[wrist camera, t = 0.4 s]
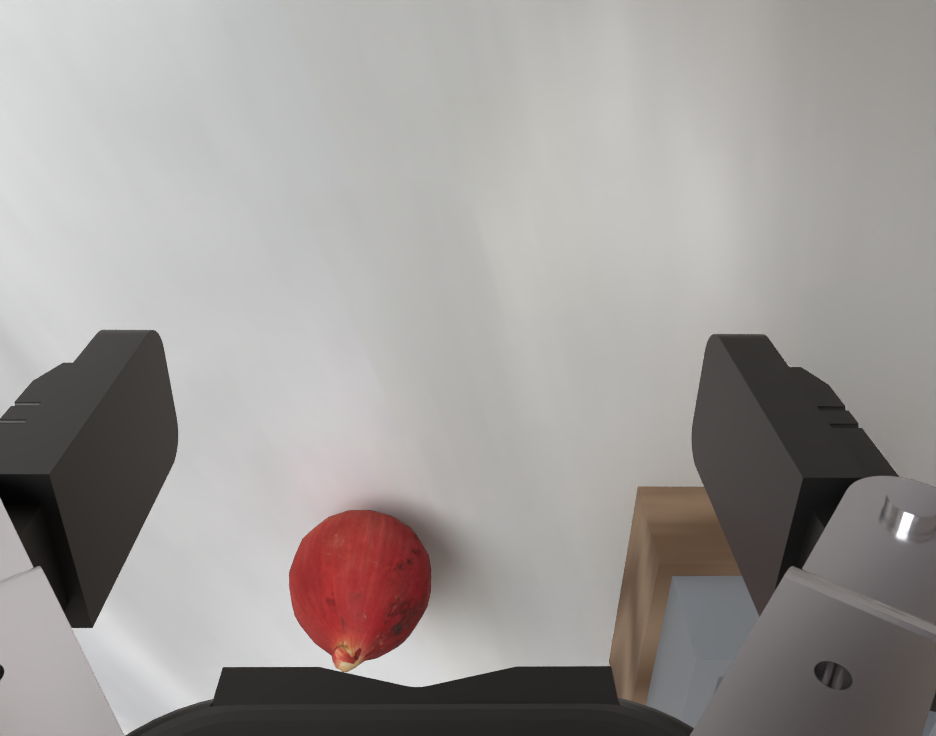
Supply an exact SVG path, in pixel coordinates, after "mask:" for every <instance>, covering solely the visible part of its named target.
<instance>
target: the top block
mask: <svg viewBox="0 0 936 736" xmlns="http://www.w3.org/2000/svg"><path fill="white" fill-rule="evenodd" d="M758 619H759V615H758V613H757V610H756V608H755V605H754V603H753V601H752V598H751V596H750V594H749V591H748V589H747V587H746V584H745V582H744V579H743V577H742V576H672V580H671V585H670V590H669V595H668V599H667V604H666V609H665V614H664V619H663V624H662V629H661V633H660V638H659V643H658V648H657V653H656V658H655V663H654V667H653V672H652V677H651V682H650V687H649V692H648V697H647V701H646V706H649V707H652V708H655V709H657V710H659V711H661V712H664V713H666V714H668V715H670V716H673V717H675V718H677V719H679V720H681V721H682V722H684V723H686V724H688V725H689V726H691V727H693V728H695V726H696V724H697V722H698V721H699V719H700V717H701V716H702V714H703V712H704V711H705V709H706V707H707V705H708V704H709V702H710V700H711V699H712V697H713V695H714V694H715V692H716V690H717V688H718V687H719V685H720V683H721V682H722V680H723V678H724V677H725V675H726V673H727V672H728V670H729V668H730V666H731V665H732V663H733V661H734V660H735V658H736V656H737V655H738V653H739V651H740V649H741V648H742V646H743V644H744V643H745V641H746V639H747V638H748V636H749V634H750V633H751V631H752V629H753V627H754V626H755V624H756V622H757V621H758ZM922 736H936V712H933V711H929V714H928V718H927V721H926V724H925V727H924V731H923V734H922Z"/></svg>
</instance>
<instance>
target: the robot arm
mask: <svg viewBox="0 0 936 736" xmlns="http://www.w3.org/2000/svg"><path fill="white" fill-rule="evenodd" d="M177 445H178V424H177V417H176V412H175V407H174V401H173V396H172V390H171V385H170V379H169V374H168V368H167V363H166V358H165V352H164V347H163V343H162V340H161V338H160V336H159V334H158V333H157V332H156V331H154V330H101V331H99V332H98V333H97V334H96V335H95V337H94V338H93V339H92V340H91V341H90V343H89V344H88V345H87V346H86V348H85V349H84V350H83V351H82V353H81V354H80V355H79V356H78V357H77V359H76V360H75V361H74V362H73V363H62V364H60V365H59V366H57V367H55V368H54V369H52V370H50V371H49V372H47V373H45V374H44V375H42V376H40V377H39V378H37V379H35V380H34V381H32V383H31V384H30V385H29V386H28V387H27V388H26V389H25V391H24V392H23V393H22V394H21V395H20V396H19V398H18V399H17V400H16V401H15V406H11V407H10V408H9V409H8V410H7V411H6V413H5V414H4V415H3V416H2V417H1V418H0V736H124V734H123V732H122V730H121V728H120V726H119V724H118V721H117V719H116V717H115V715H114V713H113V711H112V709H111V707H110V705H109V703H108V701H107V699H106V697H105V695H104V693H103V691H102V689H101V687H100V685H99V683H98V681H97V679H96V677H95V675H94V673H93V671H92V669H91V667H90V665H89V663H88V661H87V659H86V657H85V655H84V653H83V651H82V648H81V646H80V644H79V642H78V640H77V638H76V636H75V634H74V632H73V630H72V628H93V626H94V624H95V622H96V620H97V618H98V616H99V614H100V612H101V610H102V607H103V605H104V603H105V601H106V599H107V597H108V595H109V593H110V591H111V589H112V587H113V585H114V583H115V581H116V579H117V577H118V575H119V573H120V571H121V569H122V567H123V565H124V563H125V561H126V559H127V557H128V555H129V553H130V551H131V549H132V547H133V545H134V543H135V541H136V538H137V536H138V534H139V532H140V530H141V528H142V526H143V524H144V522H145V520H146V518H147V516H148V514H149V512H150V510H151V508H152V506H153V504H154V502H155V500H156V498H157V496H158V494H159V492H160V490H161V488H162V486H163V484H164V482H165V480H166V478H167V476H168V474H169V472H170V469H171V467H172V465H173V463H174V460H175V457H176V452H177ZM692 451H693V458H694V462H695V466H696V468H697V471H698V473H699V475H700V478H701V480H702V482H703V485H704V487H705V490H706V492H707V494H708V497H709V499H710V501H711V504H712V506H713V508H714V511H715V513H716V516H717V518H718V520H719V523H720V525H721V527H722V530H723V532H724V534H725V537H726V539H727V542H728V544H729V546H730V549H731V551H732V553H733V556H734V558H735V561H736V563H737V565H738V568H739V570H740V572H741V575H742V577H743V579H744V582H745V584H746V587H747V589H748V591H749V594H750V596H751V598H752V601H753V603H754V605H755V608H756V610H757V613H758V615H759V619H758V621H757V622H756V624H755V626H754V627H753V629H752V631H751V633H750V634H749V636H748V638H747V639H746V641H745V643H744V644H743V646H742V648H741V649H740V651H739V653H738V655H737V656H736V658H735V660H734V661H733V663H732V665H731V666H730V668H729V670H728V672H727V673H726V675H725V677H724V678H723V680H722V682H721V683H720V685H719V687H718V688H717V690H716V692H715V694H714V695H713V697H712V699H711V700H710V702H709V704H708V705H707V707H706V709H705V711H704V712H703V714H702V716H701V717H700V719H699V721H698V722H697V724H696V726H695V728H693V727H691V726H689V725H688V724H686V723H684V722H682V721H681V720H679V719H677V718H675V717H673V716H670V715H668V714H666V713H664V712H661V711H659V710H657V709H655V708H652V707H649V706H646V705H643V704H640V703H637V702H634V701H630V700H626V699H622V698H618V697H617V692H616V687H615V682H614V677H613V672H612V667H611V666H578V667H513V668H508V669H504V670H499V671H494V672H490V673H485V674H481V675H476V676H472V677H467V678H463V679H458V680H454V681H449V682H444V683H440V684H435V685H431V686H426V687H408V686H403V685H398V684H394V683H389V682H385V681H380V680H376V679H371V678H366V677H362V676H357V675H353V674H348V673H344V672H339V671H334V670H330V669H325V668H321V667H223V669H222V672H221V676H220V679H219V682H218V686H217V689H216V692H215V696H214V699H212V700H207V701H203V702H199V703H196V704H193V705H190V706H187V707H184V708H181V709H178V710H175V711H173V712H170V713H168V714H166V715H163V716H161V717H159V718H156V719H154V720H152V721H150V722H149V723H147V724H145V725H143V726H141V727H139V728H137V729H136V730H134V731H132V732H130V733H129V734H127V735H126V736H922V734H923V731H924V727H925V724H926V721H927V718H928V714H929V711H933V712H936V488H935V487H933V486H930V485H928V484H925V483H922V482H919V481H915V480H912V479H907V478H902V477H899V476H898V475H897V474H896V472H895V471H894V470H893V468H892V467H891V466H890V464H889V463H888V462H887V460H886V459H885V458H884V457H883V455H882V454H881V453H880V451H879V450H878V449H877V447H876V446H875V445H874V443H873V442H872V441H871V440H870V438H869V437H868V436H867V434H866V433H865V432H864V430H863V429H862V428H858V423H857V421H856V420H855V419H854V417H853V416H852V415H851V413H850V412H849V411H845V406H844V404H843V403H842V402H841V400H840V399H839V398H838V396H837V395H836V394H835V392H834V391H833V390H832V388H831V387H830V386H829V385H828V384H826V383H825V382H823V381H821V380H820V379H818V378H817V377H815V376H814V375H812V374H811V373H809V372H808V371H806V370H805V369H803V368H801V367H789V366H788V365H787V364H786V362H785V361H784V359H783V358H782V357H781V355H780V354H779V352H778V351H777V350H776V348H775V347H774V345H773V344H772V343H771V341H770V340H769V338H768V337H767V336H766V335H763V334H713V335H712V336H711V337H710V338H709V340H708V342H707V345H706V349H705V354H704V360H703V366H702V372H701V378H700V384H699V390H698V395H697V401H696V407H695V413H694V419H693V426H692Z"/></svg>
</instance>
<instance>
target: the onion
mask: <svg viewBox="0 0 936 736" xmlns="http://www.w3.org/2000/svg"><path fill="white" fill-rule="evenodd" d="M289 588H290V594H291V601H292V606H293V610H294V615H295V617H296V619H297V621H298V622H299V624H300V626H301V627H302V628H303V629H304V631H305V632H306V633H307V634H308V636H309V637H310V638H311V639H312V640H313V642H314V643H315V644H317V645H318V646H319V647H320V648H322V649H323V650H325V651H326V652H328V653H329V654H330V655H332V660H333V663H334V665H335V667H336V668H337V669H340V670H341V671H342V672H348V671H350V670H351V669H354V668H356V667H357V666H358V665H359V664H361V663H362V662H364V661H365V660H371V659H375V658H378V657H380V656H382V655H384V654H386V653H388V652H390V651H391V650H393V649H395V648H396V647H398V646H399V645H401V644H402V643H403V642H404V641H405V640H406V639H407V638H408V637H409V636H410V634H411V633H412V631H413V630H414V628H415V627H416V625H417V624H418V622H419V620H420V619H421V617H422V615H423V614H424V612H425V610H426V608H427V606H428V601H429V597H430V592H431V566H430V560H429V555H428V553H427V551H426V550H425V548H424V547H423V545H422V543H421V542H420V540H419V538H418V537H417V535H416V534H415V533H414V532H413V531H412V530H411V528H410V527H409V526H407V525H405V524H404V523H402V522H400V521H399V520H397V519H395V518H394V517H392V516H390V515H386V514H383V513H379V512H375V511H371V510H350V511H346V512H343V513H339V514H336V515H333V516H330V517H328V518H327V519H325V520H324V521H323V522H322V523H320V524H319V525H318V526H316V527H315V528H314V529H313V530H312V531H310V532H309V533H308V534H307V535H306V536H305V537H304V538H303V539H302V541H301V543H300V545H299V548H298V550H297V552H296V555H295V557H294V560H293V563H292V566H291V569H290V572H289Z"/></svg>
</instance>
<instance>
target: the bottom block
mask: <svg viewBox="0 0 936 736" xmlns="http://www.w3.org/2000/svg"><path fill="white" fill-rule="evenodd" d="M672 576H742V575H741V572H740V570H739V568H738V565H737V563H736V561H735V558H734V556H733V553H732V551H731V549H730V546H729V544H728V542H727V539H726V537H725V534H724V532H723V530H722V527H721V525H720V523H719V520H718V518H717V516H716V513H715V511H714V508H713V506H712V504H711V501H710V499H709V497H708V494H707V492H706V490H705V487H638V490H637V496H636V502H635V508H634V514H633V520H632V526H631V532H630V538H629V544H628V550H627V556H626V562H625V569H624V575H623V581H622V587H621V593H620V599H619V605H618V611H617V617H616V623H615V629H614V635H613V641H612V647H611V653H610V659H609V663H610V666H611V667H612V672H613V677H614V682H615V687H616V692H617V697H618V698H622V699H626V700H630V701H634V702H637V703H640V704H643V705H646V701H647V697H648V692H649V687H650V682H651V677H652V672H653V667H654V663H655V658H656V653H657V648H658V643H659V638H660V633H661V629H662V624H663V619H664V614H665V609H666V604H667V599H668V595H669V590H670V585H671V580H672Z"/></svg>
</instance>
